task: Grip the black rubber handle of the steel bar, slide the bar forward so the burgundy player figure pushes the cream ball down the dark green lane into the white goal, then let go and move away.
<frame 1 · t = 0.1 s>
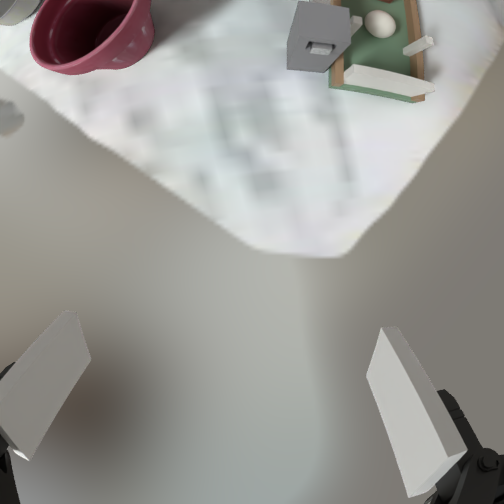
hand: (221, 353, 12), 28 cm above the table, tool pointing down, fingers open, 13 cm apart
ball: (380, 24, 25), point 3 cm above the table, touching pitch
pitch: (369, 12, 28), on the table
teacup: (24, 8, 25), on the table
plant pot: (125, 40, 30), on the table
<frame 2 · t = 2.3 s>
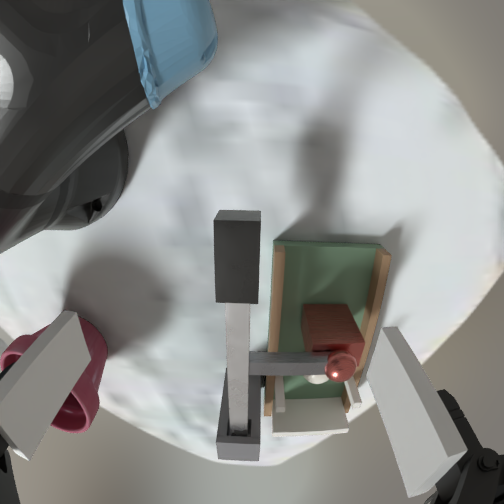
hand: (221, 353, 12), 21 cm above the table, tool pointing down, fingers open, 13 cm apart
ball: (317, 367, 33), point 3 cm above the table, touching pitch
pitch: (317, 328, 35), on the table
slider: (291, 349, 28), point 7 cm above the table, slide at 0.0 cm
plant pot: (82, 339, 38), on the table
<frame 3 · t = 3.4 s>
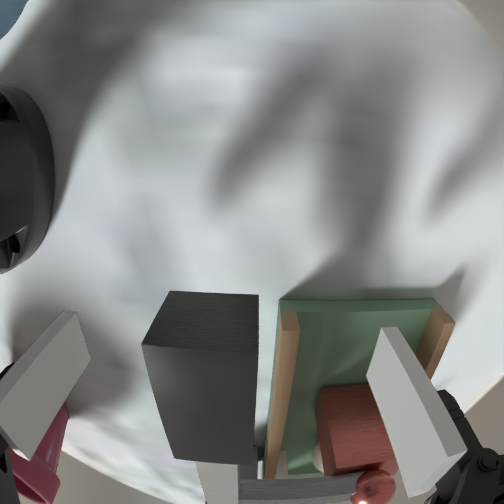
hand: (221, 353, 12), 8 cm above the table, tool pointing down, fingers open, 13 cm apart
ball: (333, 454, 21), point 3 cm above the table, touching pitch
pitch: (335, 404, 23), on the table
slider: (302, 459, 16), point 7 cm above the table, slide at 0.0 cm
plant pot: (39, 394, 26), on the table
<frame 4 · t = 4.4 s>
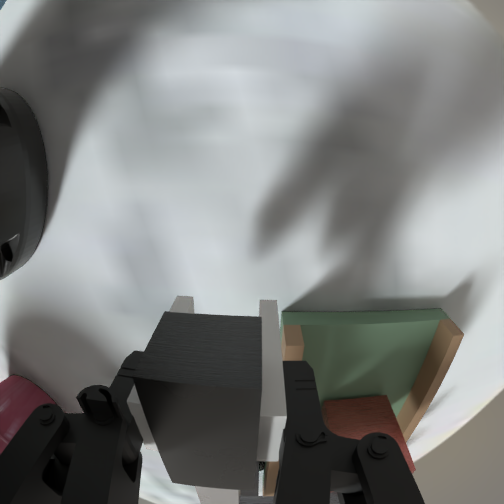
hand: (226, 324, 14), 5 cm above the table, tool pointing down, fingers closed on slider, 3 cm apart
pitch: (339, 415, 22), on the table
slider: (305, 474, 15), point 7 cm above the table, slide at 0.0 cm, touching gripper
plant pot: (37, 401, 25), on the table
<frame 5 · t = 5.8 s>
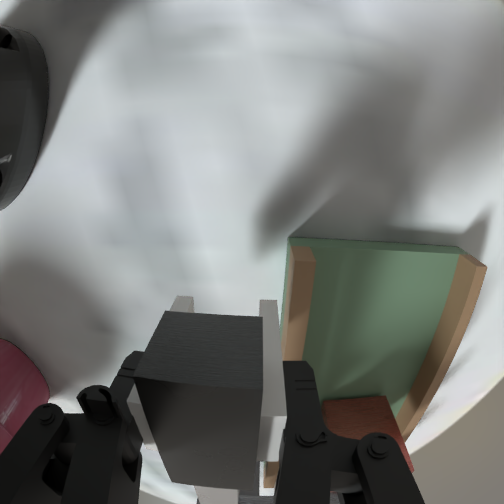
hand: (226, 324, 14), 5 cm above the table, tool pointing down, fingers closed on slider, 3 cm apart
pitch: (351, 378, 21), on the table
slider: (304, 474, 15), point 7 cm above the table, slide at 4.9 cm, touching gripper
plant pot: (19, 369, 23), on the table
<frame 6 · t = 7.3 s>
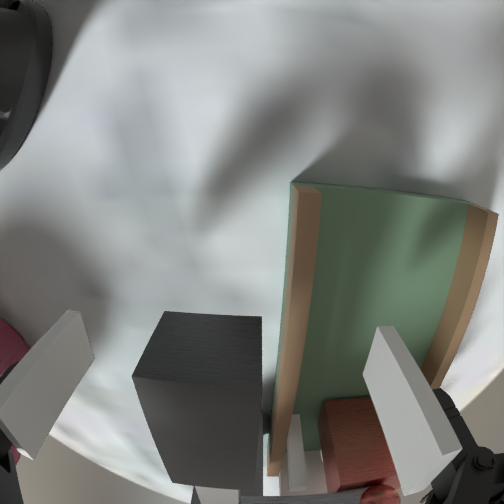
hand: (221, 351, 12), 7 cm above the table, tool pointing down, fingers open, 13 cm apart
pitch: (361, 346, 19), on the table
slider: (305, 474, 15), point 7 cm above the table, slide at 8.0 cm
plant pot: (10, 349, 22), on the table
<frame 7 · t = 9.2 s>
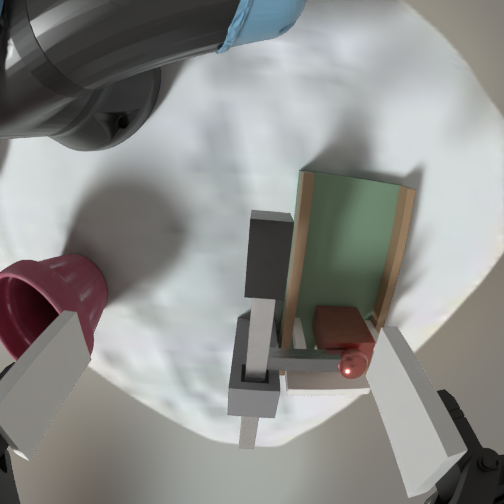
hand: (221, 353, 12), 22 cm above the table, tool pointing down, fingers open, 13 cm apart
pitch: (338, 272, 34), on the table
slider: (305, 347, 29), point 7 cm above the table, slide at 8.0 cm
plant pot: (81, 283, 36), on the table
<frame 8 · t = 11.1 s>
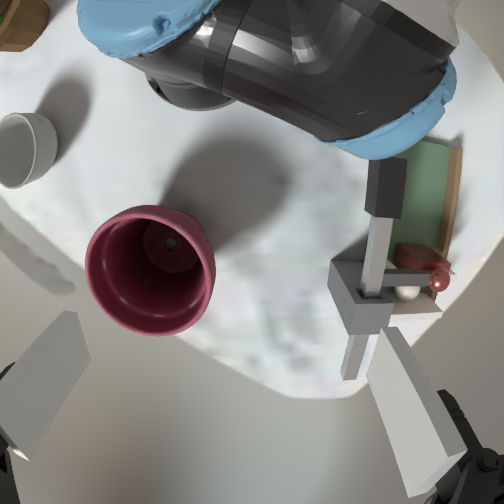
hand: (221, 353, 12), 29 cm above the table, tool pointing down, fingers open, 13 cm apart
ball: (407, 287, 38), point 3 cm above the table, tilted 169°, touching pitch
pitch: (409, 216, 38), on the table
slider: (398, 272, 34), point 7 cm above the table, slide at 8.0 cm
flowerpot: (29, 26, 28), on the table
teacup: (36, 148, 36), on the table
plant pot: (175, 240, 41), on the table
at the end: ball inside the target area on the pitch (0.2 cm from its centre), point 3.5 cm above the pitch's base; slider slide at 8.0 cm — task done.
